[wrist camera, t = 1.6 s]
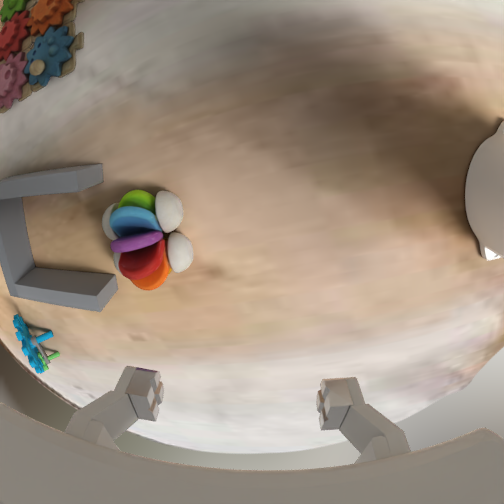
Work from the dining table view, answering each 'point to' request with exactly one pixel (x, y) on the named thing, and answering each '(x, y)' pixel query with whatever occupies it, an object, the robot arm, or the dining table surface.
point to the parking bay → (19, 251)
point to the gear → (33, 345)
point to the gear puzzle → (35, 46)
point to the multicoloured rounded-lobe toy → (147, 237)
